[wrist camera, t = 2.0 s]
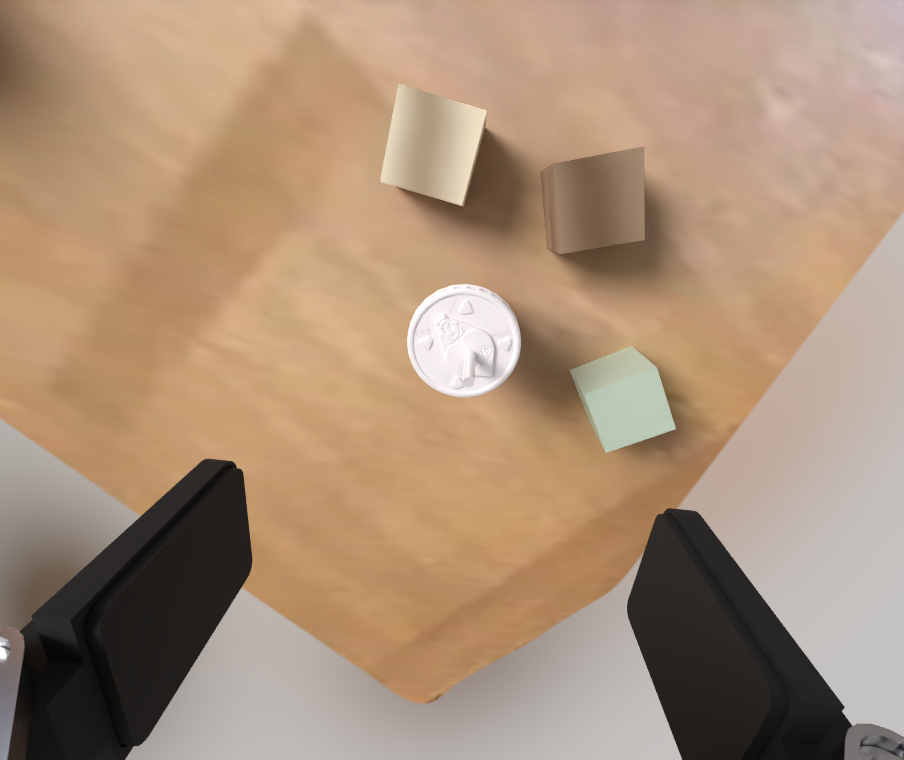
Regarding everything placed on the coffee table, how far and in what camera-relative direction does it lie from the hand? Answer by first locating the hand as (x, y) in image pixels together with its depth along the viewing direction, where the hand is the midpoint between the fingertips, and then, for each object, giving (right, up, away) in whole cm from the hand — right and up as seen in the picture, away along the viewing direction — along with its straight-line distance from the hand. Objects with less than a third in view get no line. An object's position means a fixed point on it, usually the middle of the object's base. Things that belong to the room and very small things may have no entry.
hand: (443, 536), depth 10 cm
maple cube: (-1, +19, +19) cm, 27 cm away
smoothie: (+1, +9, +23) cm, 25 cm away
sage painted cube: (+13, +3, +24) cm, 28 cm away
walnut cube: (+9, +16, +20) cm, 27 cm away
